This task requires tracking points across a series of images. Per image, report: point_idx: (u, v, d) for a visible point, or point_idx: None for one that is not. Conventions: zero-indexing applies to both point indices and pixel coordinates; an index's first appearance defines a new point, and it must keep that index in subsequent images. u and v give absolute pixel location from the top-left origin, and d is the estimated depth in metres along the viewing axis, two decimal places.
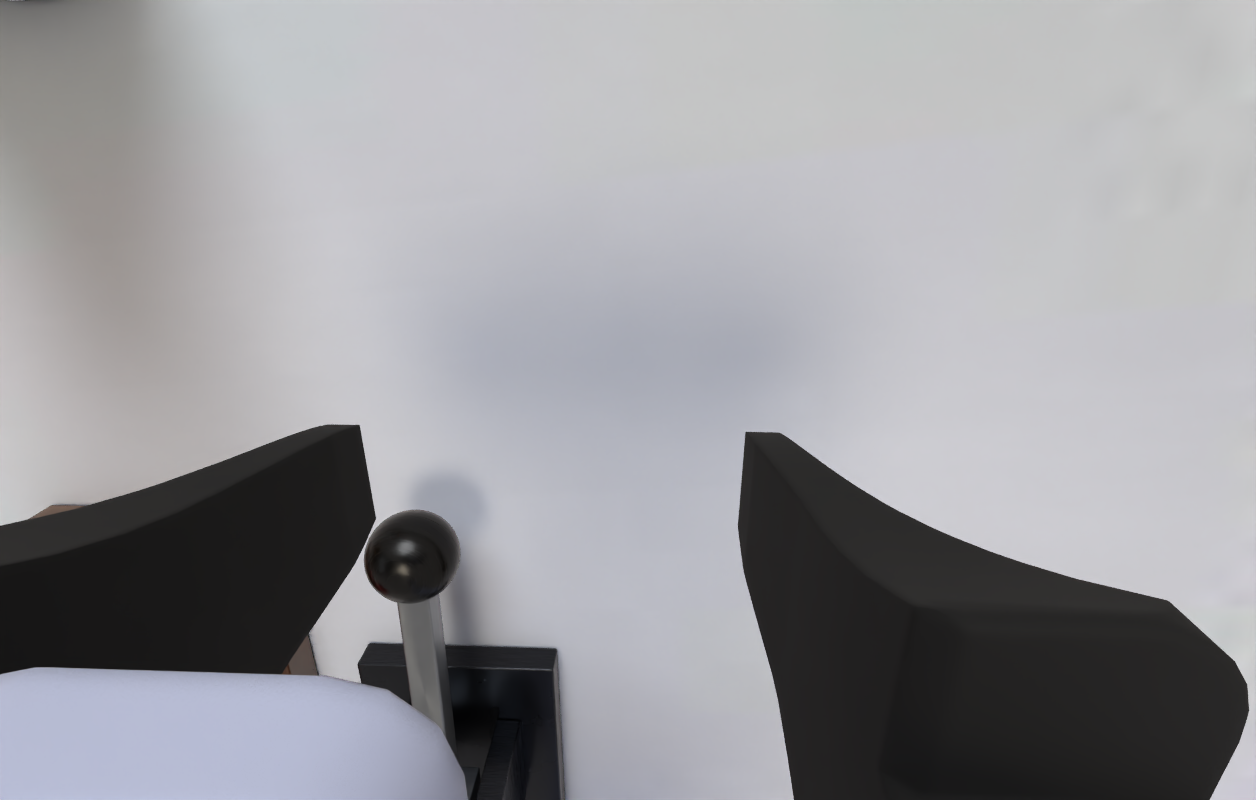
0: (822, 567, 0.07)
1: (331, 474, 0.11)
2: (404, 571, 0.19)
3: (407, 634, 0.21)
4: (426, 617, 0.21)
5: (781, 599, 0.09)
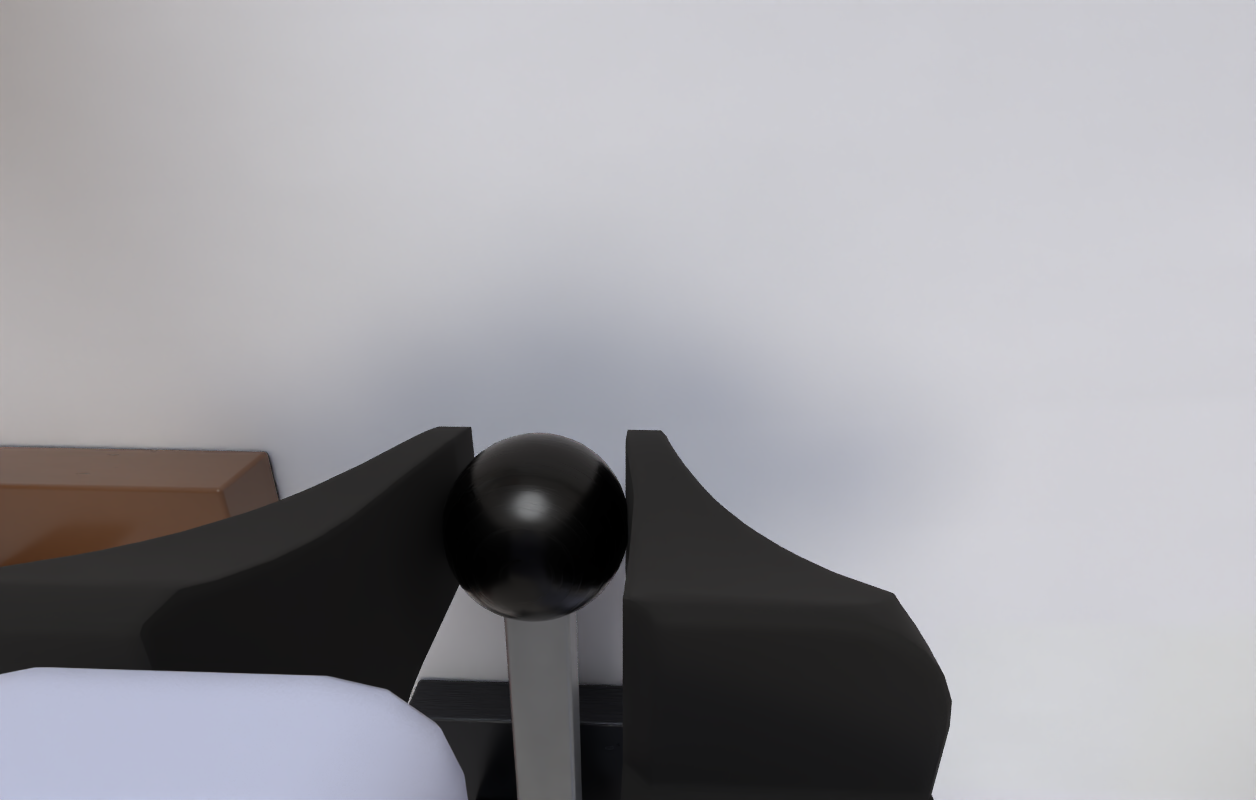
0: None
1: (453, 477, 0.11)
2: (538, 553, 0.09)
3: (520, 681, 0.11)
4: (561, 648, 0.11)
5: None
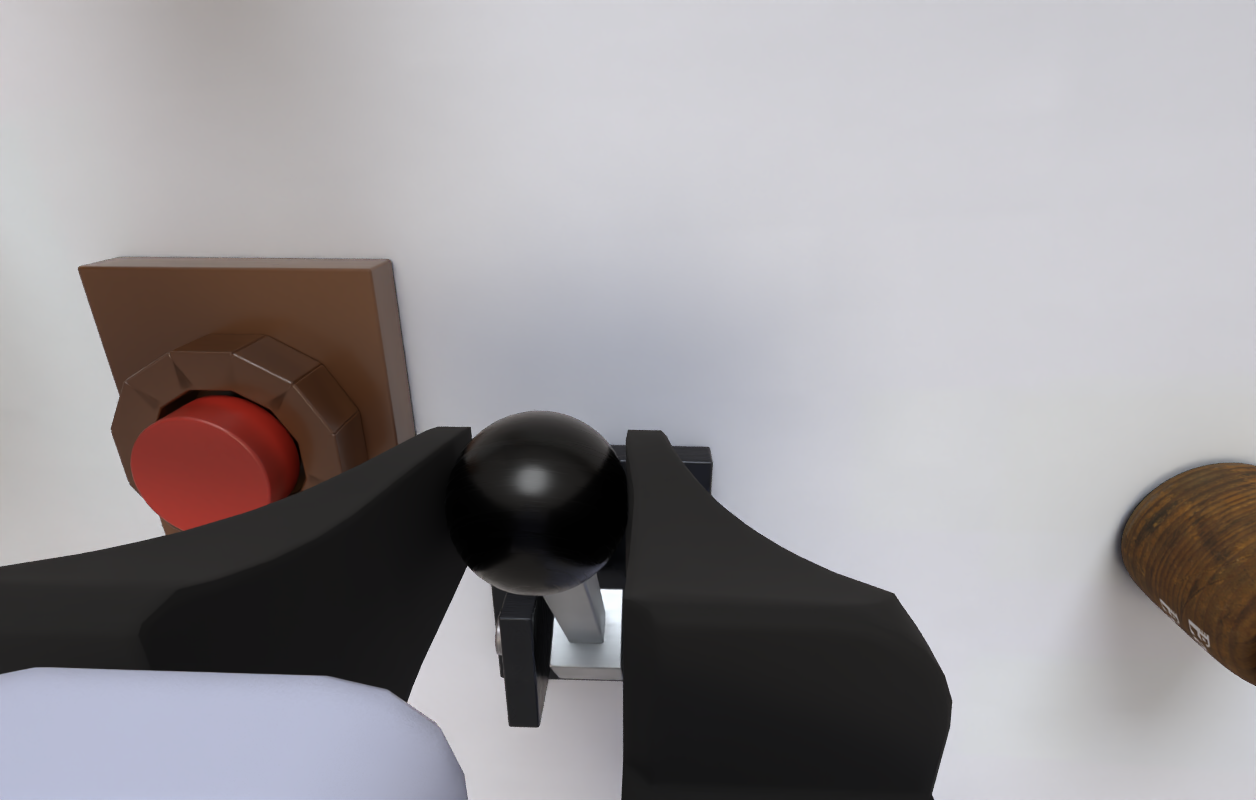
0: None
1: None
2: (543, 580, 0.09)
3: None
4: None
5: None
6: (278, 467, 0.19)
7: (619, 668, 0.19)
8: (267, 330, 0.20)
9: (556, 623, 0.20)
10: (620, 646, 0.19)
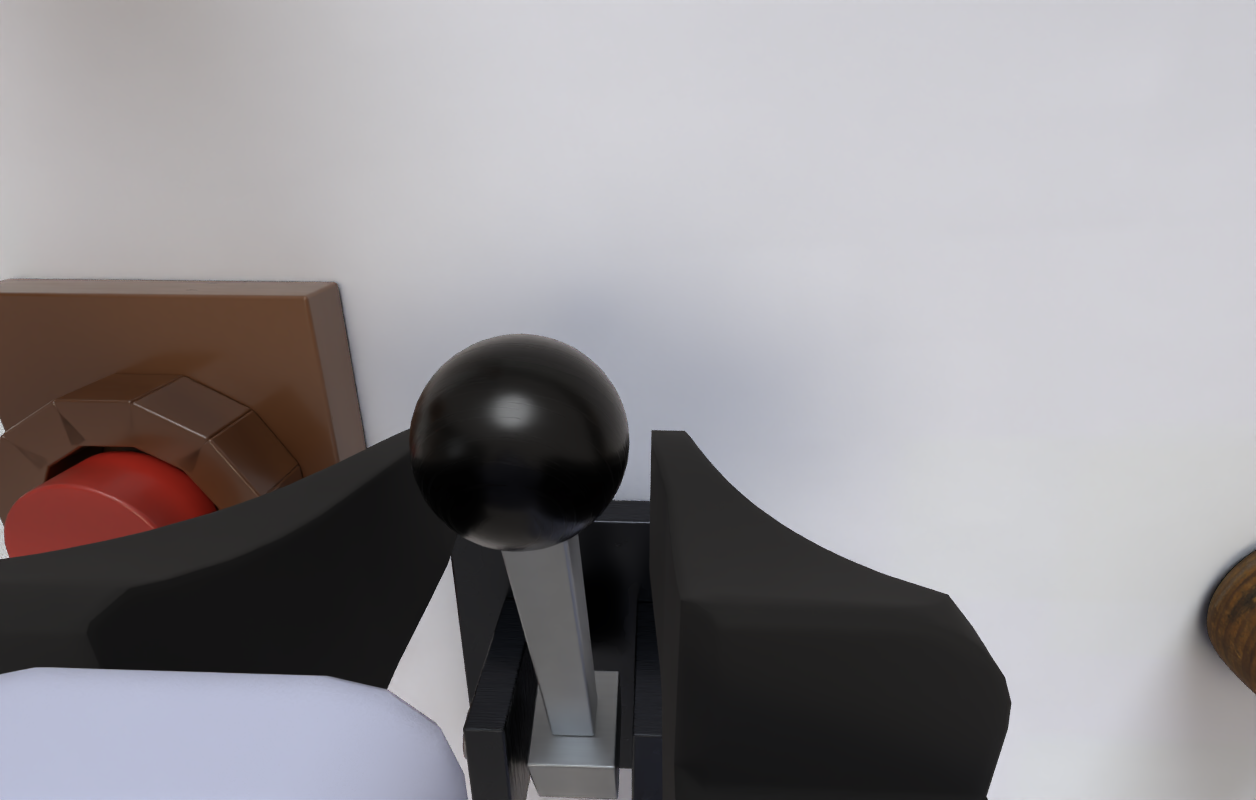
0: (669, 563, 0.07)
1: None
2: (522, 508, 0.08)
3: (519, 575, 0.10)
4: (558, 552, 0.10)
5: (662, 596, 0.09)
6: None
7: (613, 768, 0.16)
8: (183, 370, 0.16)
9: (538, 711, 0.16)
10: (614, 740, 0.16)
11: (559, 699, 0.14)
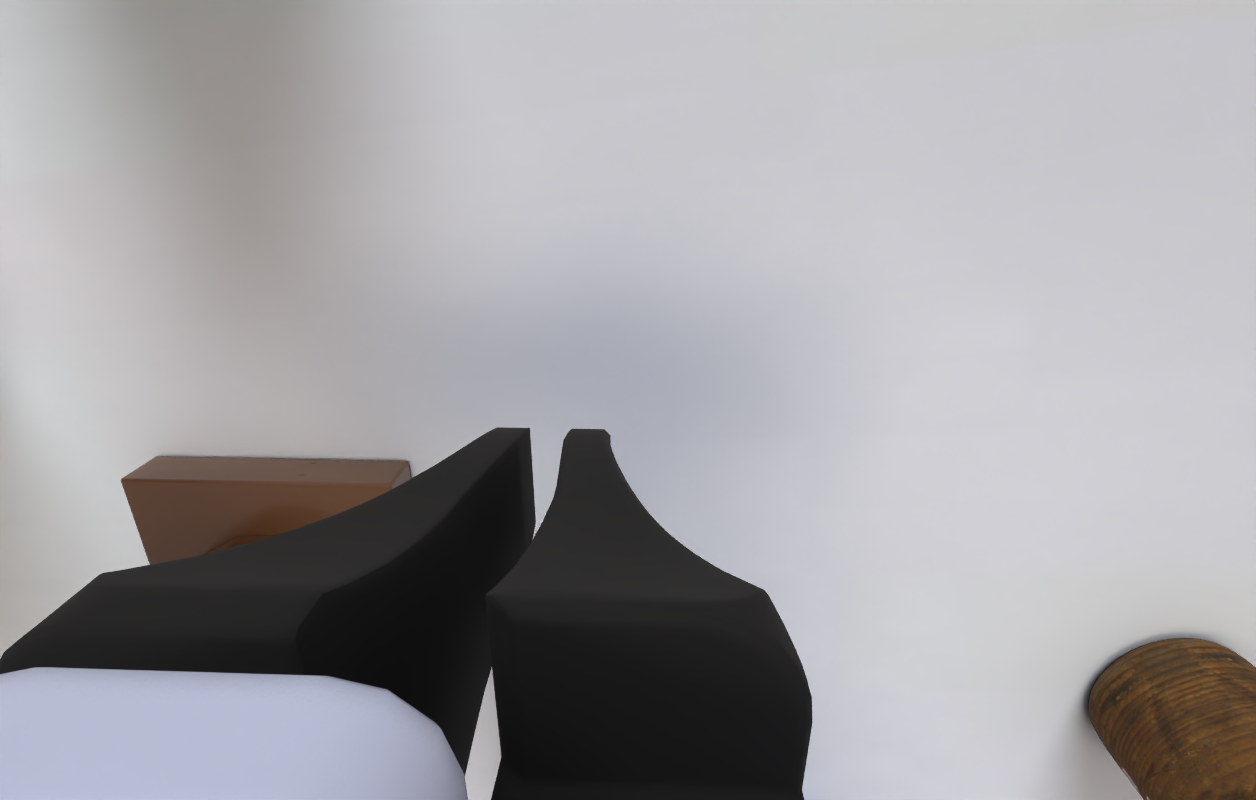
0: None
1: (516, 478, 0.11)
2: None
3: None
4: None
5: None
6: None
7: None
8: None
9: None
10: None
11: None
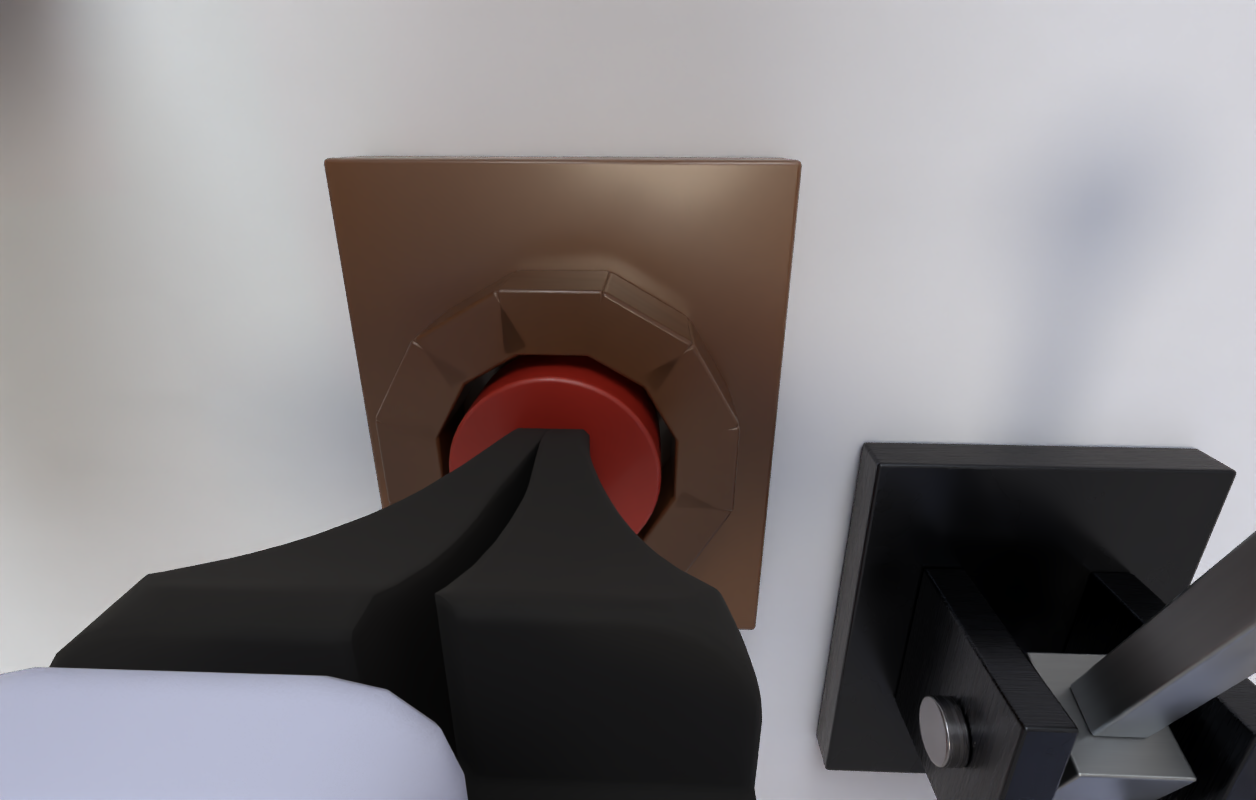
0: None
1: None
2: None
3: None
4: None
5: None
6: None
7: (1193, 780, 0.12)
8: (611, 264, 0.12)
9: None
10: (1176, 743, 0.12)
11: (1189, 688, 0.11)
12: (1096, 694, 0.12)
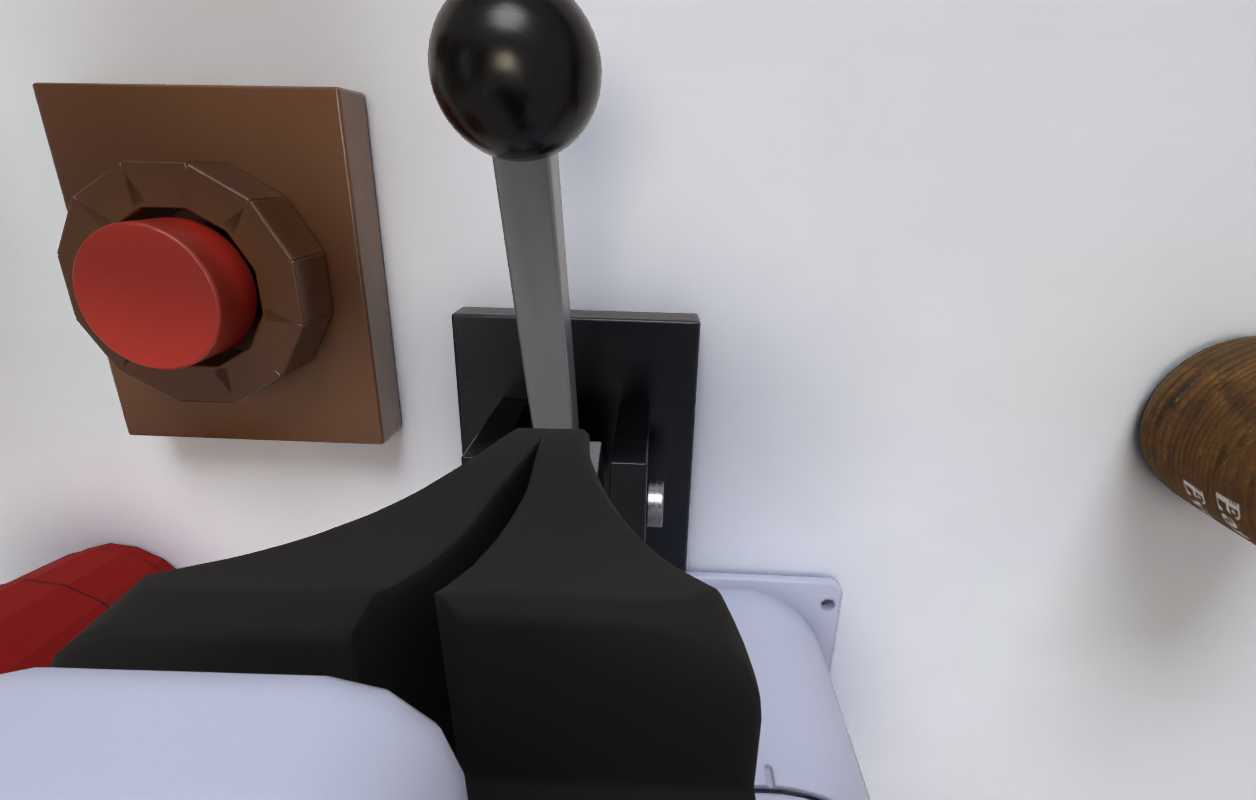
0: None
1: None
2: (514, 71, 0.10)
3: (512, 228, 0.13)
4: (544, 194, 0.12)
5: None
6: (232, 290, 0.17)
7: None
8: (229, 158, 0.19)
9: None
10: None
11: (546, 420, 0.16)
12: None
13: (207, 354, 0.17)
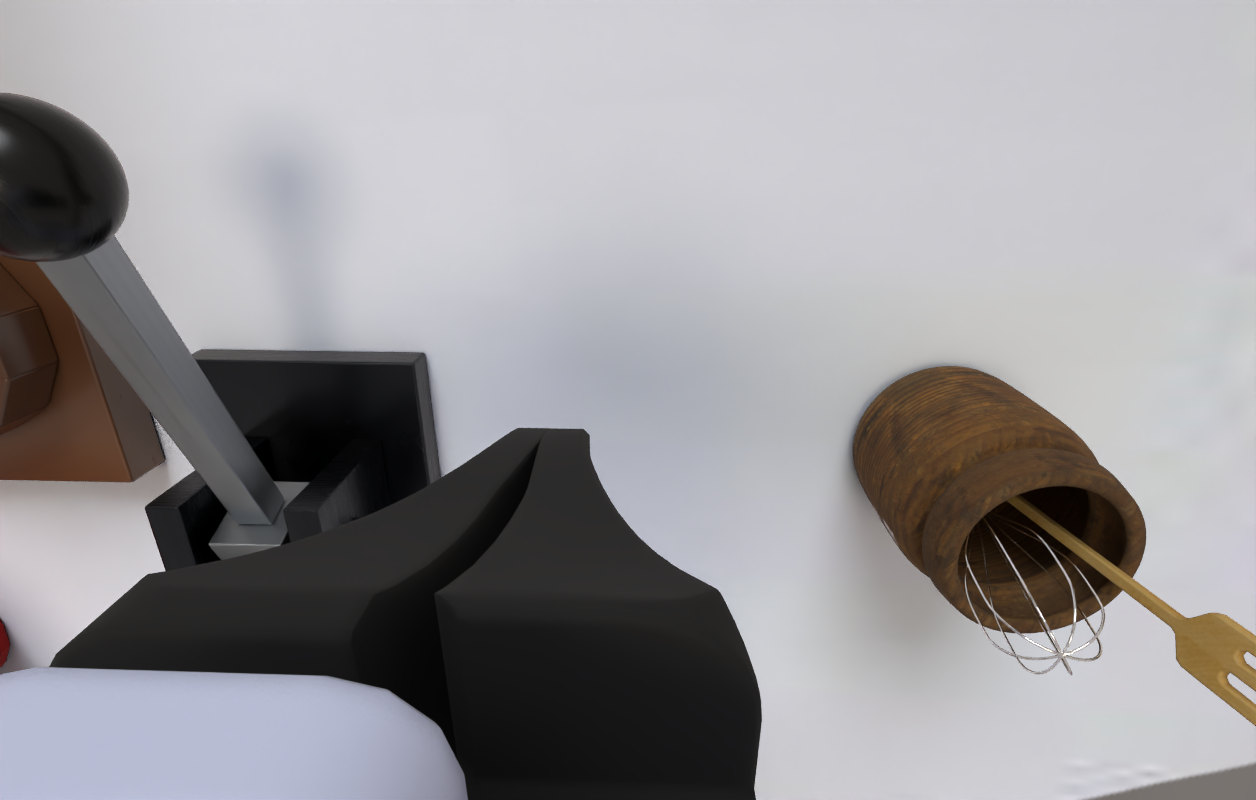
0: None
1: None
2: None
3: (83, 314, 0.14)
4: (96, 287, 0.13)
5: None
6: None
7: None
8: None
9: None
10: None
11: (211, 473, 0.17)
12: None
13: None
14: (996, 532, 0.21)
